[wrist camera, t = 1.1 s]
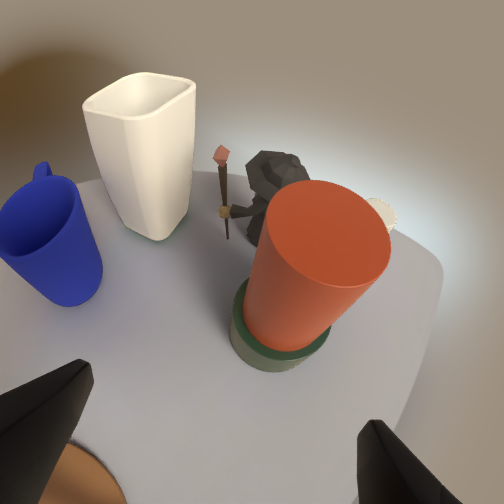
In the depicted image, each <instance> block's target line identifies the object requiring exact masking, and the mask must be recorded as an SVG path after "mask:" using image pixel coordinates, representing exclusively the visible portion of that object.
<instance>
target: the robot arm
mask: <svg viewBox="0 0 504 504" xmlns="http://www.w3.org/2000/svg"><path fill="white" fill-rule="evenodd" d="M93 384H94V379H93V374H92V369H91V365H90V363H89V362H87V361H84V360H82V359H77V360H74V361H72V362H70V363H68V364H66V365H64V366H62V367H60V368H58V369H55V370H53V371H51V372H49V373H47V374H45V375H43V376H41V377H39V378H36V379H34V380H32V381H30V382H28V383H26V384H23V385H21V386H19V387H17V388H15V389H13V390H10V391H8V392H6V393H4V394H2V395H0V504H38V503H39V501H40V498H41V496H42V494H43V492H44V490H45V487H46V485H47V483H48V481H49V479H50V477H51V475H52V473H53V471H54V468H55V466H56V464H57V462H58V460H59V458H60V456H61V454H62V452H63V450H64V448H65V447H66V445H67V443H68V441H69V439H70V437H71V435H72V433H73V431H74V429H75V428H76V426H77V424H78V422H79V419H80V417H81V414H82V412H83V409H84V407H85V404H86V402H87V399H88V397H89V394H90V392H91V390H92V387H93ZM357 484H358V495H359V504H462V503H461V502H460V501H459V500H458V499H457V498H455V496H454V495H453V494H451V493H450V492H449V491H448V490H447V489H446V488H445V487H444V485H442V484H441V482H440V481H438V479H437V478H436V477H435V476H434V475H433V474H432V473H431V472H430V471H429V470H428V469H427V468H426V467H425V466H424V465H423V464H422V463H421V461H420V460H419V459H418V458H417V457H416V456H415V455H414V454H413V453H412V452H411V451H410V450H409V449H408V448H407V447H406V446H405V444H404V443H403V442H402V441H401V440H400V439H399V438H398V437H397V436H396V435H395V434H394V433H393V432H392V431H391V429H390V428H389V427H388V426H387V425H386V424H385V423H384V422H383V421H382V420H369V421H368V422H367V423H366V425H365V426H364V427H363V429H362V430H361V431H360V433H359V434H358V437H357Z"/></svg>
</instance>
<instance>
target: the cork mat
mask: <svg viewBox="0 0 504 504" xmlns="http://www.w3.org/2000/svg"><path fill="white" fill-rule="evenodd" d="M38 504H127V503H126V500H125V497H124V495H123V492H122V490H121V488H120V487H119V485H118V483H117V482H116V480H115V479H114V477H113V476H112V475H111V473H110V472H109V471H108V470H107V469H106V468H105V467H104V465H103V464H102V463H101V462H99V461H98V460H97V459H96V458H95V457H94V456H92V455H91V454H89V453H88V452H87V451H85V450H83V449H82V448H80V447H78V446H76V445H74V444H71V443H67V445H66V447H65V448H64V450H63V452H62V454H61V456H60V458H59V460H58V462H57V464H56V466H55V468H54V471H53V473H52V475H51V477H50V479H49V481H48V483H47V485H46V487H45V490H44V492H43V494H42V496H41V498H40V501H39V503H38Z"/></svg>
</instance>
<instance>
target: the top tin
mask: <svg viewBox="0 0 504 504" xmlns="http://www.w3.org/2000/svg"><path fill="white" fill-rule="evenodd" d="M390 254H391V242H390V237H389V233H388V230H387V228H386V226H385V224H384V222H383V220H382V218H381V217H380V216H379V214H378V213H377V212H376V210H375V209H374V208H373V207H372V206H371V205H370V204H369V203H368V202H367V201H366V200H364V199H363V198H362V197H360V196H359V195H357V194H356V193H354V192H352V191H351V190H349V189H347V188H345V187H342V186H340V185H337V184H334V183H330V182H326V181H320V180H304V181H298V182H295V183H292V184H289V185H287V186H285V187H284V188H282V189H281V190H279V191H278V192H277V193H276V194H275V195H274V196H273V198H272V199H271V201H270V202H269V205H268V207H267V210H266V214H265V218H264V222H263V226H262V230H261V234H260V238H259V242H258V246H257V250H256V254H255V258H254V262H253V266H252V270H251V274H250V278H249V282H248V286H247V290H246V294H245V297H244V302H243V318H244V322H245V324H246V327H247V328H248V330H249V332H250V333H251V334H252V336H253V337H254V338H255V339H256V340H257V341H259V342H260V343H261V344H263V345H265V346H266V347H269V348H271V349H274V350H278V351H295V350H299V349H302V348H304V347H306V346H308V345H309V344H311V343H312V342H313V341H314V340H315V339H316V338H318V337H319V336H320V335H321V334H322V333H323V332H324V331H325V330H326V329H327V328H328V327H329V326H331V325H332V324H333V323H334V322H335V321H336V320H337V319H338V318H339V317H340V316H341V315H342V314H343V313H344V312H345V311H346V310H347V309H348V308H349V307H350V306H351V305H352V304H353V303H354V302H355V301H356V300H357V299H358V298H359V297H360V296H361V295H362V294H363V293H364V292H365V291H366V290H367V289H368V288H369V287H370V286H371V285H372V284H373V283H374V282H375V281H376V280H377V279H378V278H379V277H380V275H381V274H382V273H383V272H384V270H385V269H386V267H387V265H388V262H389V259H390Z"/></svg>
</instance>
